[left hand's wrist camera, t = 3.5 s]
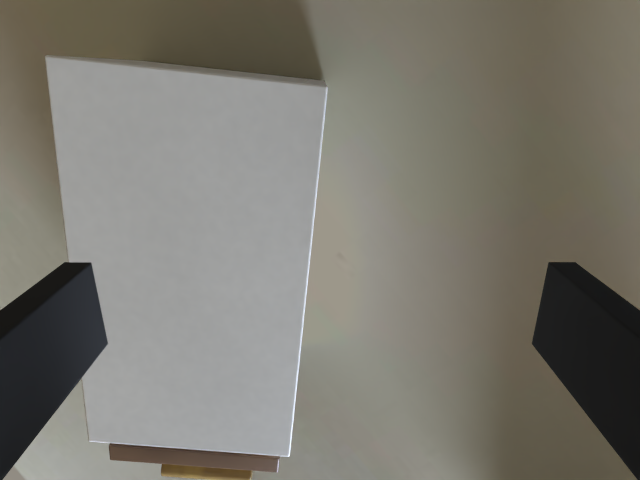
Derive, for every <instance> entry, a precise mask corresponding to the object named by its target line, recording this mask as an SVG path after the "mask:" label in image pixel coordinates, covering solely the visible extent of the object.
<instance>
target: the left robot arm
mask: <svg viewBox="0 0 640 480" xmlns="http://www.w3.org/2000/svg"><path fill="white" fill-rule="evenodd" d="M107 345H108V341H107V336H106V331H105V326H104V321H103V317H102V312H101V307H100V302H99V297H98V292H97V287H96V283H95V278H94V273H93V268H92V263H91V262H64V263H63V264H62V265H60V266H59V267H58V268H56V269H55V270H54V271H52V272H51V273H50V274H48V275H47V276H46V277H44V278H43V279H42V280H40V281H39V282H38V283H36V284H35V285H34V286H32V287H31V288H30V289H28V290H27V291H26V292H24V293H23V294H22V295H20V296H19V297H18V298H16V299H15V300H14V301H12V302H11V303H10V304H8V305H7V306H6V307H4V308H3V309H2V310H0V480H3V478H4V477H5V476H6V474H7V473H8V472H9V471H10V469H11V468H12V467H13V465H14V464H15V463H16V462H17V460H18V459H19V458H20V456H21V455H22V454H23V453H24V451H25V450H26V449H27V447H28V446H29V445H30V444H31V442H32V441H33V440H34V438H35V437H36V436H37V435H38V433H39V432H40V431H41V429H42V428H43V427H44V426H45V424H46V423H47V422H48V420H49V419H50V418H51V417H52V415H53V414H54V413H55V411H56V410H57V409H58V408H59V406H60V405H61V404H62V402H63V401H64V400H65V399H66V397H67V396H68V395H69V393H70V392H71V391H72V390H73V388H74V387H75V386H76V384H77V383H78V382H79V381H80V379H81V378H82V377H83V375H84V374H85V373H86V372H87V370H88V369H89V368H90V366H91V365H92V364H93V363H94V361H95V360H96V359H97V357H98V356H99V355H100V354H101V352H102V351H103V350H104V348H105V347H106V346H107ZM532 345H533V346H534V347H535V348H536V350H537V351H538V352H539V354H540V355H541V356H542V357H543V359H544V360H545V361H546V363H547V364H548V365H549V366H550V368H551V369H552V370H553V372H554V373H555V374H556V375H557V377H558V378H559V379H560V381H561V382H562V383H563V384H564V386H565V387H566V388H567V390H568V391H569V392H570V393H571V395H572V396H573V397H574V399H575V400H576V401H577V402H578V404H579V405H580V406H581V408H582V409H583V410H584V411H585V413H586V414H587V415H588V417H589V418H590V419H591V420H592V422H593V423H594V424H595V426H596V427H597V428H598V429H599V431H600V432H601V433H602V435H603V436H604V437H605V438H606V440H607V441H608V442H609V444H610V445H611V446H612V447H613V449H614V450H615V451H616V453H617V454H618V455H619V456H620V458H621V459H622V460H623V462H624V463H625V464H626V465H627V467H628V468H629V469H630V471H631V472H632V473H633V474H634V476H635V477H636V478H637V480H640V310H638V309H637V308H636V307H634V306H633V305H632V304H630V303H629V302H628V301H626V300H625V299H624V298H622V297H621V296H620V295H618V294H617V293H616V292H614V291H613V290H612V289H610V288H609V287H608V286H606V285H605V284H604V283H602V282H601V281H600V280H598V279H597V278H596V277H594V276H593V275H592V274H590V273H589V272H588V271H586V270H585V269H584V268H582V267H581V266H580V265H578V264H577V263H576V262H549V263H548V268H547V273H546V278H545V283H544V287H543V292H542V297H541V302H540V307H539V312H538V317H537V321H536V326H535V331H534V336H533V341H532Z"/></svg>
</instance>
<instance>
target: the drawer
mask: <svg viewBox="0 0 640 480" xmlns="http://www.w3.org/2000/svg"><path fill="white" fill-rule="evenodd" d="M109 452H110V460H118V461H132V462H145V463H158V464H162V467H161V475H162V476H167V477H180V478H194V479H207V480H252V473H253V471H265V472H278V468H279V458H280V456H274V455H261V454H247V453H234V452H221V451H208V450H195V449H182V448H169V447H156V446H143V445H130V444H117V443H110V445H109Z"/></svg>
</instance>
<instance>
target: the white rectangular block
mask: <svg viewBox="0 0 640 480" xmlns="http://www.w3.org/2000/svg"><path fill="white" fill-rule="evenodd" d="M45 63H46V72H47V80H48V89H49V98H50V107H51V115H52V124H53V133H54V142H55V151H56V159H57V168H58V177H59V186H60V194H61V203H62V212H63V221H64V229H65V238H66V247H67V256H68V262H91V263H92V268H93V273H94V278H95V283H96V287H97V292H98V297H99V302H100V307H101V312H102V317H103V321H104V326H105V331H106V336H107V341H108V345H107V346H106V347H105V348H104V350H103V351H102V352H101V354H100V355H99V356H98V357H97V359H96V360H95V361H94V363H93V364H92V365H91V366H90V368H89V369H88V370H87V372H86V373H85V374H84V375H83V377H82V387H83V396H84V405H85V414H86V422H87V431H88V440H89V441H91V442H104V443H117V444H130V445H143V446H156V447H169V448H182V449H195V450H208V451H221V452H234V453H247V454H261V455H274V456H287V457H288V456H289V455H290V448H291V439H292V429H293V419H294V410H295V400H296V390H297V380H298V371H299V361H300V351H301V342H302V332H303V322H304V313H305V303H306V293H307V284H308V274H309V264H310V254H311V245H312V235H313V225H314V216H315V206H316V196H317V187H318V177H319V167H320V158H321V148H322V138H323V129H324V119H325V109H326V99H327V90H328V87H327V85H326V83H325V81H323V80H313V79H304V78H295V77H286V76H277V75H268V74H259V73H250V72H240V71H231V70H222V69H213V68H204V67H195V66H186V65H177V64H167V63H158V62H149V61H138V60H121V59H104V58H88V57H71V56H54V55H46V56H45Z"/></svg>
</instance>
